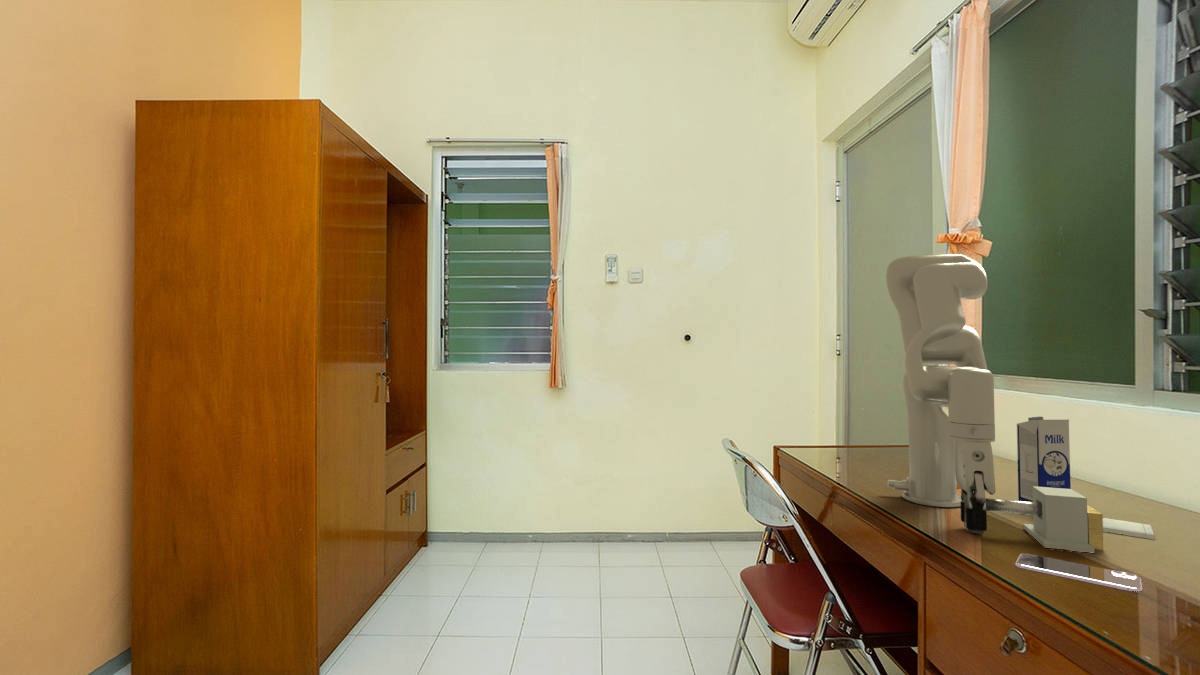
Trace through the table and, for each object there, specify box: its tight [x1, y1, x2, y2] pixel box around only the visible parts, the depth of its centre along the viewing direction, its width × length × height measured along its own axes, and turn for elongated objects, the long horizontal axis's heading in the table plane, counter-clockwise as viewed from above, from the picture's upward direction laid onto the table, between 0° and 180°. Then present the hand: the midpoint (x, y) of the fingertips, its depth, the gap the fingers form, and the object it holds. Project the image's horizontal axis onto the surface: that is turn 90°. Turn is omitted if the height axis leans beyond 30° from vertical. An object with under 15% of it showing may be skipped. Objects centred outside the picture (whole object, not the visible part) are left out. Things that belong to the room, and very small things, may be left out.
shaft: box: [963, 492, 1042, 535], centre depth 105 cm, size 16×4×7 cm, turn 67°
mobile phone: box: [1014, 552, 1143, 593], centre depth 88 cm, size 8×1×15 cm
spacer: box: [1087, 504, 1104, 551], centre depth 101 cm, size 2×6×6 cm, turn 157°
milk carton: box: [1016, 416, 1072, 502], centre depth 127 cm, size 7×7×20 cm
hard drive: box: [1103, 517, 1155, 540], centre depth 110 cm, size 2×8×12 cm
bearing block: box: [1022, 486, 1095, 553], centre depth 103 cm, size 7×12×9 cm, turn 157°
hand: (973, 525), depth 108 cm, fingers closed on shaft, 4 cm apart
